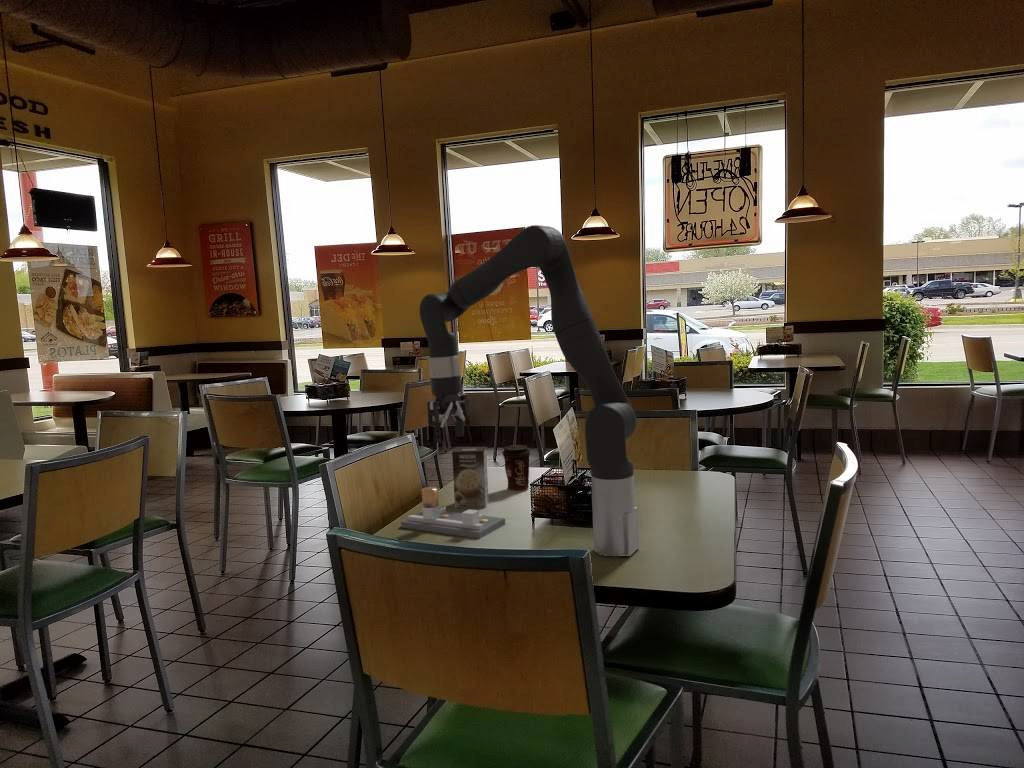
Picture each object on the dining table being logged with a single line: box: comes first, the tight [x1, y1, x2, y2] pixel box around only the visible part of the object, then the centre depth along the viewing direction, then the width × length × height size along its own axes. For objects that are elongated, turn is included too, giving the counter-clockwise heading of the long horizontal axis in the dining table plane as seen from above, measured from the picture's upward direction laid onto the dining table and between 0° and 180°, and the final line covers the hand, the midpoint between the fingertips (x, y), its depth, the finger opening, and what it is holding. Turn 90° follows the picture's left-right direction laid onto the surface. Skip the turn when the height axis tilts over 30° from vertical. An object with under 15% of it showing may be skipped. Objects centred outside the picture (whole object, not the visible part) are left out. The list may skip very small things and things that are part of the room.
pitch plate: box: [400, 509, 506, 539], centre depth 185 cm, size 24×12×6 cm, turn 60°
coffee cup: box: [502, 444, 531, 493], centre depth 217 cm, size 9×8×13 cm
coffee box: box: [451, 446, 490, 509], centre depth 203 cm, size 9×6×16 cm
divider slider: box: [421, 486, 447, 520], centre depth 185 cm, size 4×8×8 cm, turn 150°
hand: (450, 439), depth 181 cm, fingers open, 8 cm apart
